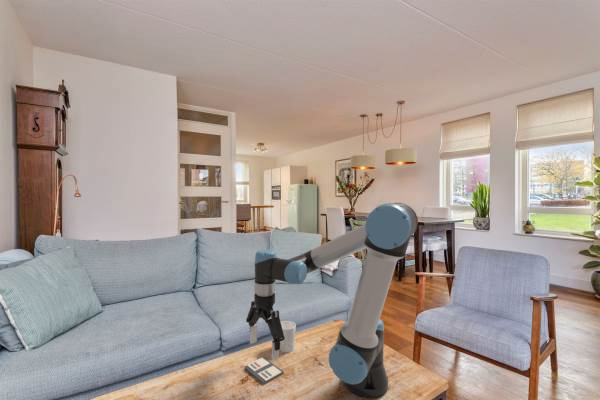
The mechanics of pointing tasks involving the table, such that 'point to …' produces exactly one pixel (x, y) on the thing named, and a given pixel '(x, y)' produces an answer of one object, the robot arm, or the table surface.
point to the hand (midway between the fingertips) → (263, 349)
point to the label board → (263, 370)
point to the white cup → (288, 336)
